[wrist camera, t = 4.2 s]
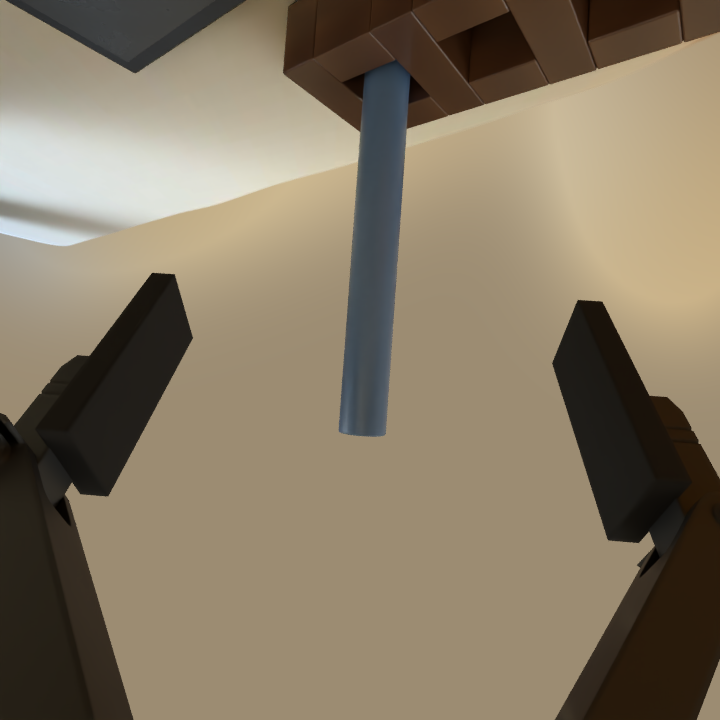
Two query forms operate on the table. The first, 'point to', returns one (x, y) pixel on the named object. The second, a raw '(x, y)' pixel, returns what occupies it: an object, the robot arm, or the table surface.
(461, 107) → the pen stand
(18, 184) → the table surface
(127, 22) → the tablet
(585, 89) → the table surface
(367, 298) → the stylus
